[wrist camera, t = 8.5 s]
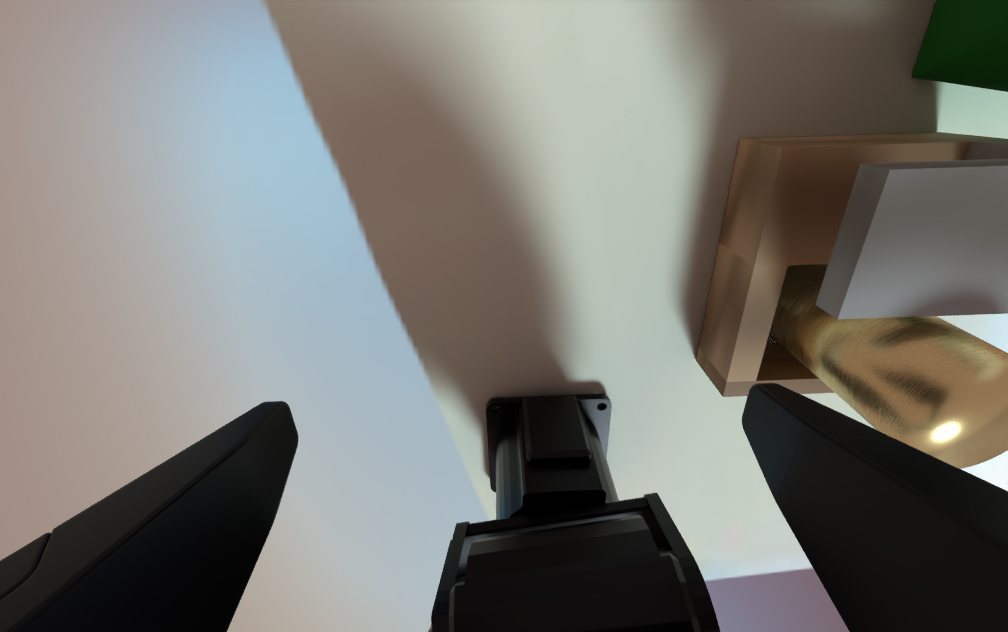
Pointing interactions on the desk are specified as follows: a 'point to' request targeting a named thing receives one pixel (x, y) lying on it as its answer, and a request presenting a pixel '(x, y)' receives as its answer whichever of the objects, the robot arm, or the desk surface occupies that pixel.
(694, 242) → the desk surface
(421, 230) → the desk surface
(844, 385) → the peg
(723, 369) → the socket block
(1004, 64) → the milk carton
